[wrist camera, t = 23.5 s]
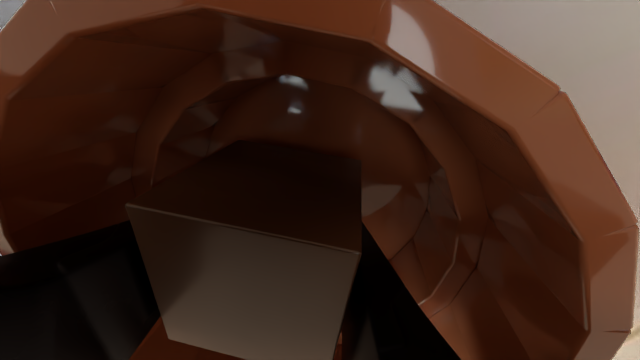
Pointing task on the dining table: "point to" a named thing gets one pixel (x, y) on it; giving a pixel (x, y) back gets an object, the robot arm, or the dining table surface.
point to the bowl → (331, 151)
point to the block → (254, 250)
